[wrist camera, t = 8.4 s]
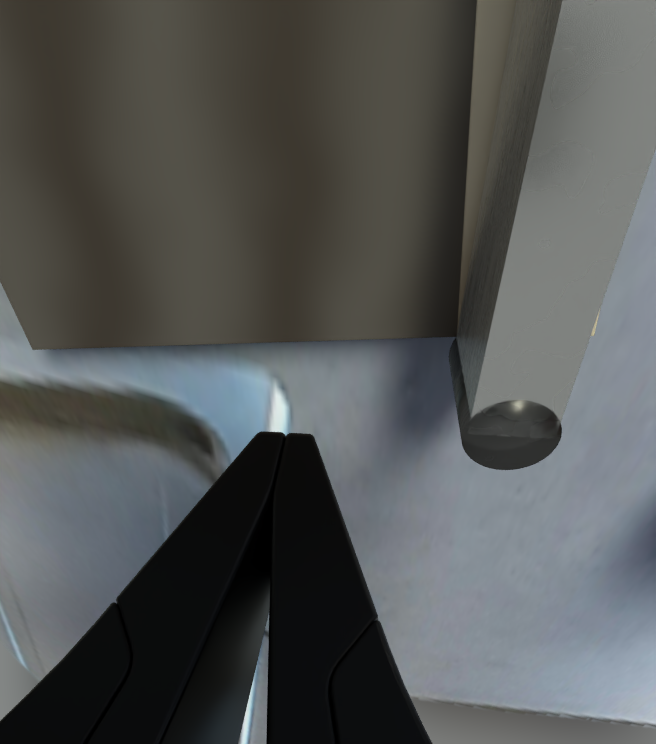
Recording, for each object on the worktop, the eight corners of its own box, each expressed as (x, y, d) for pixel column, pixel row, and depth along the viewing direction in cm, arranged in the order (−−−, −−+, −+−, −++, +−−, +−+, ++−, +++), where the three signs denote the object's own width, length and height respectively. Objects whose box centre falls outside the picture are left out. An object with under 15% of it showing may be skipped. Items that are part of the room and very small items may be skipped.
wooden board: (55, 320, 24) (30, 353, 22) (-191, -254, 14) (-271, -275, 12) (576, 301, 22) (594, 335, 20) (713, -385, 12) (770, -433, 10)
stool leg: (565, -385, 11) (644, -508, 7) (752, -386, 10) (913, -509, 7) (437, 383, 21) (448, 466, 18) (529, 388, 21) (555, 472, 18)
